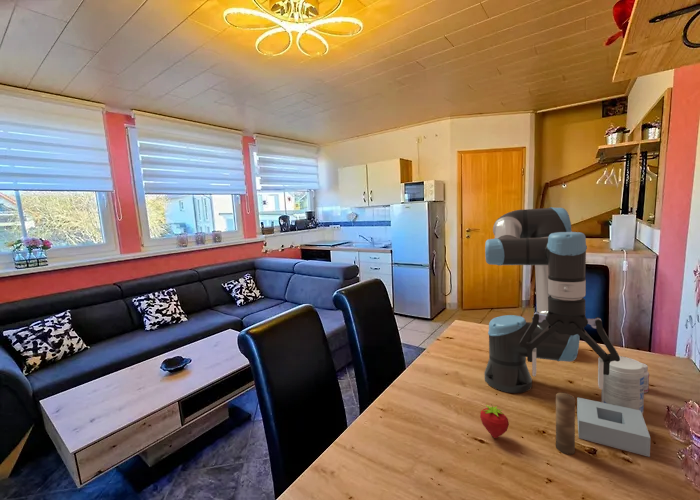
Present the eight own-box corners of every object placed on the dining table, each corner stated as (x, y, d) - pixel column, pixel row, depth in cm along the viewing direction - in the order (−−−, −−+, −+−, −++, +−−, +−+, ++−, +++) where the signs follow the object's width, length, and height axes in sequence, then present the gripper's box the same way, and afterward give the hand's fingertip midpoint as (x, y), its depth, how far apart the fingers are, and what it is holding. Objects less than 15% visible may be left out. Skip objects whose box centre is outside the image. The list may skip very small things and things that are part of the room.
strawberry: (501, 450, 83) (500, 414, 82) (475, 435, 89) (474, 401, 88) (514, 440, 86) (513, 405, 85) (488, 426, 92) (487, 393, 91)
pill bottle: (652, 393, 102) (653, 368, 101) (634, 392, 103) (635, 367, 102) (642, 385, 107) (642, 361, 106) (625, 384, 108) (626, 360, 107)
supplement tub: (650, 421, 90) (652, 371, 88) (609, 417, 93) (610, 368, 91) (632, 401, 99) (633, 355, 97) (595, 398, 102) (596, 353, 100)
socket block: (578, 438, 85) (578, 420, 85) (577, 413, 95) (577, 397, 95) (649, 457, 78) (650, 437, 77) (640, 427, 87) (640, 410, 87)
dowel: (555, 451, 81) (555, 399, 80) (555, 441, 85) (556, 391, 83) (574, 456, 79) (575, 403, 78) (574, 446, 83) (574, 395, 81)
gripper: (506, 296, 81) (508, 375, 84) (637, 305, 68) (635, 400, 70) (510, 289, 88) (512, 363, 90) (631, 296, 74) (629, 384, 76)
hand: (565, 379), depth 80 cm, fingers open, 13 cm apart
